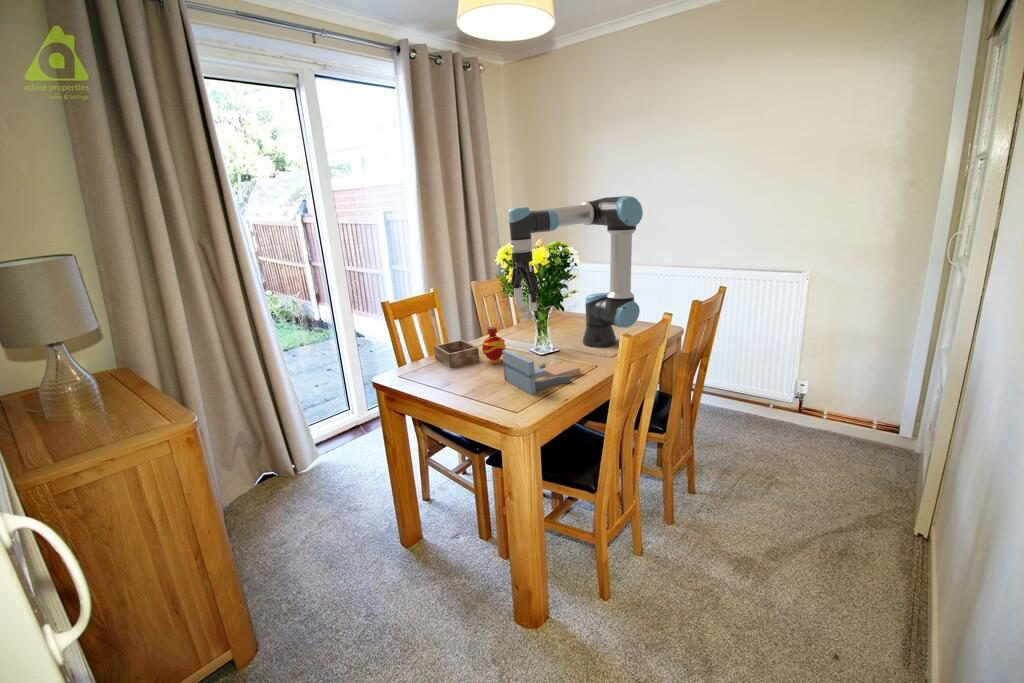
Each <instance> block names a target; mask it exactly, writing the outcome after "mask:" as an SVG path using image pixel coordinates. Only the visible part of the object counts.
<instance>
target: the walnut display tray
mask: <svg viewBox="0 0 1024 683" xmlns="http://www.w3.org/2000/svg"><path fill="white" fill-rule="evenodd" d="M433 351H434V358H435V360H437V361H439V362H441V363H442V364H444V365H445V366H446V367H448V368H450V369H452V368H455V367H459V366H464V365H467V364H470V363H471V364H472V363H475V362H479V361H480V354H479V347H477V346H476V345H473V344H472V343H469V342H467V341H466V340H464V339H458V340H454V341H449V342H445V343H441V344H440V343H439V344H435V345H433Z"/></svg>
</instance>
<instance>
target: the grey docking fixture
mask: <svg viewBox="0 0 1024 683" xmlns="http://www.w3.org/2000/svg"><path fill="white" fill-rule="evenodd" d="M502 352H503V354H502V363H503V373H504V374H503V376H504V381H506V382H507V383H509V384H511V385H513V386H514V387H516V388H518V389H520V390H522V391H523V392H526V393H527V394H529V395H531V396H532V395H535V394H537V390H542V389H544V388H547V387H552V386H554V385H557V384H569V383H572V378H571V376H570V375H565V376H555V377H551V378H547V377H546V378H544V379H541V380H537V381H536V378H538V377H541V376H543V375H545V370H543V368H546V363H542V364H540V365H538V366H536V365H535V362H534V360H531V359H530V358H526V357H524V356H522V355H520V354H518V353H516V352H514V351H511V350H509V349H506V348H505V350H502Z"/></svg>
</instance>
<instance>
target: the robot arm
mask: <svg viewBox="0 0 1024 683" xmlns="http://www.w3.org/2000/svg"><path fill="white" fill-rule="evenodd" d="M643 214H644V212H643V207H642V204H641V202H640V201H639V200H638V199H637V198H636V197H634V196H628V195H622V196H611V197H603V198H597V199H594V200H590V201H584V202H582V203H581V204H577V205H570V206H568V205H567V206H562V207H561V206H560V207H553V208H546V209H545V208H544V209H536V210H530V208H529V207H528V206H525V207H524V206H522V207H513V208H510V209H509V211H508V224H509V233H510V243H509V245H510V247H511V249H510V250H511V252H512V253H511V261H512V272H511V281H510V286H511V287H512V288H513V293H514V294H513V295H514V305H515V306H520V305H523V298H522V297H523V296H522V285H521V283H522V280H524V281H525V284H526V287H527V290H528V292H527V295H528V303H529V304H528V306H529V308H528V309H529V312H534V311H535V312H536V311H538V302H537V301H538V300H537V293H539V292H540V289H539V285H538V280H537V277H536V274H535V267H534V265H530V263H531V262H532V261H533V260H534V259H533V251H532V249H533V247H532V246H533V245H532V234H536V233H546V232H553V231H555V230H557V229H558V228H559V227H567V226H572V225H580V224H583V225H585V226H593V225H594V226H595V225H596V226H597V225H598V226H604V227H605V226H607V227H606V230H607V232H608V233H609V235H610V267H609V268H610V272H609V274H610V275H609V277H610V278H609V279H610V280H609V282H610V283H609V284H610V285H609V292H600V293H599V292H598V293H592V294H589V295H588V294H587V296H586V297H585V324H586V327H585V331H584V334H583V337H582V343H583V345H585V346H587V347H592V348H593V347H594V348H604V347H611V346H613V345H615V344H617V343H616V342H617V338H616V337H617V336H616V335H615V330H614V329H613V326H615V327H618V328H626V329H627V328H630V327H632V326H633V325H634V324H635V323H636V322H637V321H638V318H639V317H640V306H639V305H638V303H637V302H636V301H635V295H634V294H633V292H632V291H631V289H632V288H631V287H632V284H631V283H632V256H633V255H632V248H633V247H632V246H633V234H634V233H635V232H636V231H637V226H638V225H639V224H640V223H641V220H643V219H642V218H643Z"/></svg>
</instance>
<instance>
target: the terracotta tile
mask: <svg viewBox="0 0 1024 683" xmlns="http://www.w3.org/2000/svg"><path fill="white" fill-rule="evenodd" d="M543 370H545V375H542V376H543V377H546V379H547V378H551V377H555V376H565V375H570V376H571V377H575V376H578V375H581V367H579V366H577V365H575V364H573V363H570V362H568V361H565V362H561V363H557V364H555V365H551V366H548V367H546V366H545V368H543Z"/></svg>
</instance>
